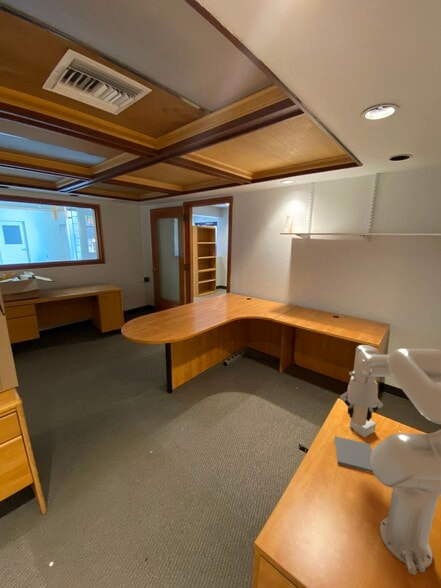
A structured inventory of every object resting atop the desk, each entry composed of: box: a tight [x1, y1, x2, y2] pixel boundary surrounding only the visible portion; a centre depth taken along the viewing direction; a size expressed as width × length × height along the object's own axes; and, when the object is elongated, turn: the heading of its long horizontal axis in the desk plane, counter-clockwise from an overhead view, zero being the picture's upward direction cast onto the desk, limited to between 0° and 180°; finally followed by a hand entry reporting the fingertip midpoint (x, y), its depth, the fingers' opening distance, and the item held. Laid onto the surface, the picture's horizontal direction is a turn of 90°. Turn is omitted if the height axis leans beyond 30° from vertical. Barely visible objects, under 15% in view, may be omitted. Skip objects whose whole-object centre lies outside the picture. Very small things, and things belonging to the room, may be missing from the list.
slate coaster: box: [334, 435, 374, 474], centre depth 105 cm, size 14×14×1 cm
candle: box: [350, 404, 368, 426], centre depth 101 cm, size 6×6×10 cm
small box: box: [349, 418, 377, 438], centre depth 118 cm, size 8×8×5 cm
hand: (358, 416), depth 101 cm, fingers closed on candle, 5 cm apart
